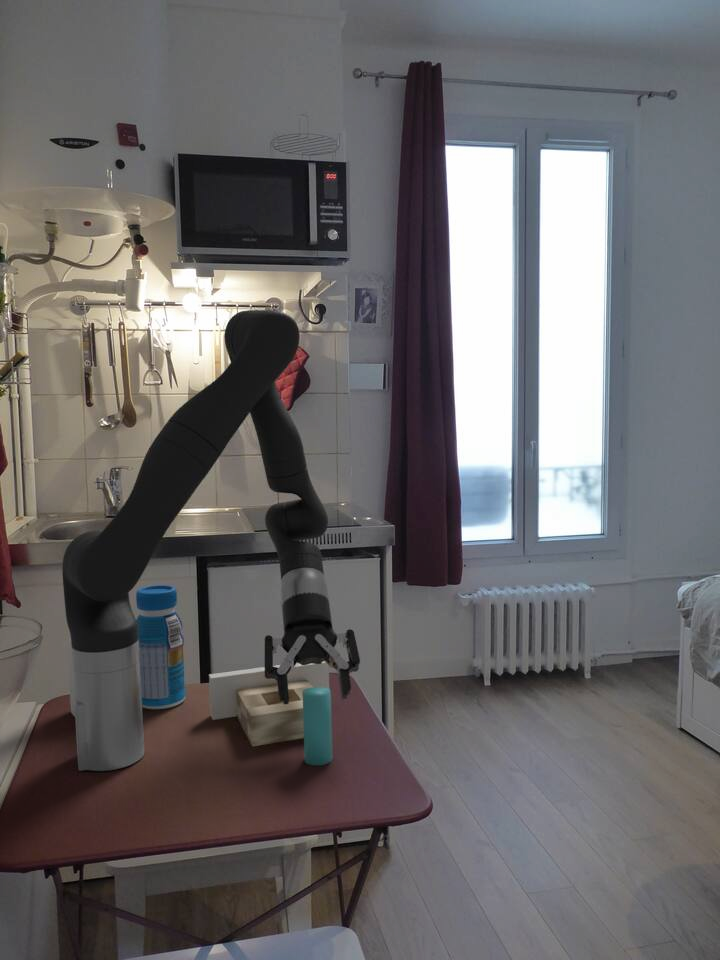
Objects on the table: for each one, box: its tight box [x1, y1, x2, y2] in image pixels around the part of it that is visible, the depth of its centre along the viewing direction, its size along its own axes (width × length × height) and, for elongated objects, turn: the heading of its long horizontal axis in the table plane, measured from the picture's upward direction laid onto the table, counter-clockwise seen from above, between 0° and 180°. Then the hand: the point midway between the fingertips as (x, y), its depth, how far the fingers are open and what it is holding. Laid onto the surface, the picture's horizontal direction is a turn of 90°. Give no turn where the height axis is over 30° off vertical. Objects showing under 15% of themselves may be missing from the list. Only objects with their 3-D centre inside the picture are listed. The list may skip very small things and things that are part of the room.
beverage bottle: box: [135, 584, 186, 711], centre depth 136 cm, size 8×8×20 cm
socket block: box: [236, 680, 313, 747], centre depth 126 cm, size 12×12×5 cm
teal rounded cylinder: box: [302, 687, 333, 766], centre depth 113 cm, size 4×4×10 cm
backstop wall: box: [208, 661, 330, 721], centre depth 133 cm, size 20×2×7 cm, turn 109°
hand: (315, 699), depth 115 cm, fingers open, 8 cm apart
